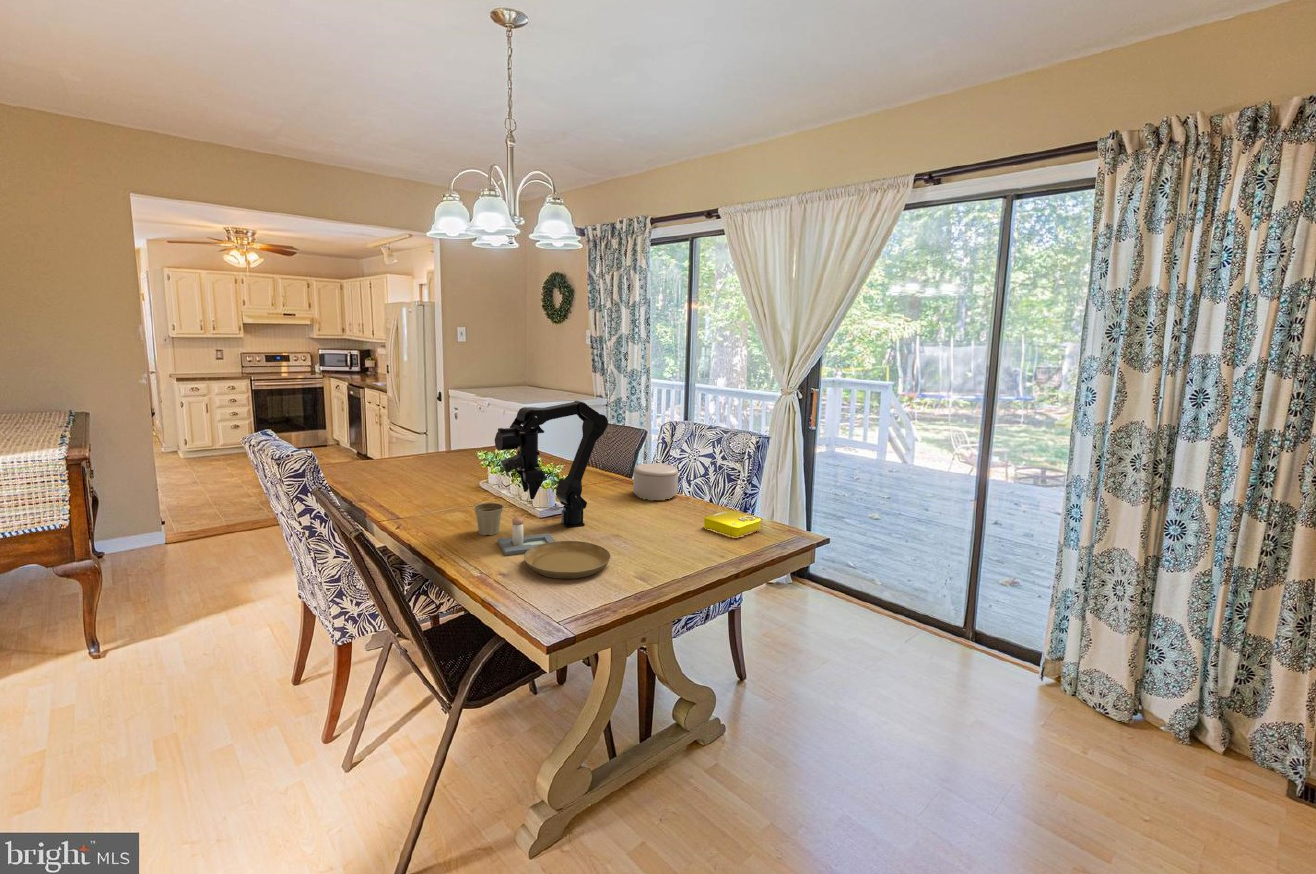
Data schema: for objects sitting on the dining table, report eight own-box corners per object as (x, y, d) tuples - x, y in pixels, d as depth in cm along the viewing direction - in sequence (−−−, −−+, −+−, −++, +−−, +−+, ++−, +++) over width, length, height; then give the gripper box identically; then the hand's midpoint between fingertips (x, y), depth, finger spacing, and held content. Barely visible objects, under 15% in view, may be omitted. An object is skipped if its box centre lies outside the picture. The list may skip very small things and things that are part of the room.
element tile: (728, 520, 222) (728, 507, 222) (762, 531, 212) (763, 517, 211) (700, 529, 212) (701, 515, 211) (735, 540, 201) (736, 526, 201)
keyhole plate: (548, 536, 197) (548, 533, 197) (559, 549, 187) (559, 545, 186) (497, 542, 191) (497, 538, 191) (505, 555, 180) (505, 551, 180)
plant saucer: (620, 555, 184) (621, 545, 183) (594, 588, 161) (595, 576, 160) (544, 547, 189) (544, 536, 188) (509, 577, 166) (508, 565, 165)
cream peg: (522, 543, 190) (521, 517, 188) (524, 547, 187) (524, 520, 185) (511, 545, 188) (511, 518, 187) (513, 548, 185) (513, 521, 184)
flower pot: (495, 538, 194) (495, 512, 192) (468, 535, 196) (467, 509, 194) (508, 529, 203) (508, 504, 201) (482, 526, 205) (482, 501, 203)
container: (637, 502, 240) (637, 472, 238) (629, 490, 257) (630, 462, 255) (682, 501, 244) (683, 472, 242) (671, 489, 261) (673, 462, 259)
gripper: (497, 443, 201) (497, 490, 203) (508, 454, 184) (509, 505, 187) (531, 441, 205) (531, 487, 208) (545, 452, 189) (545, 502, 191)
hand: (528, 495), depth 198 cm, fingers open, 9 cm apart
